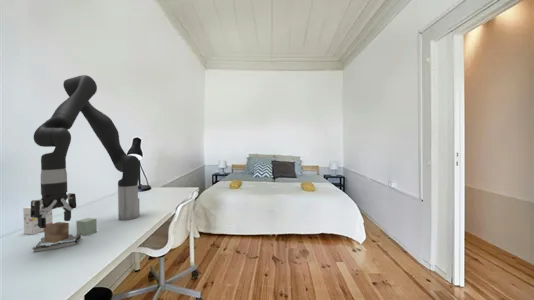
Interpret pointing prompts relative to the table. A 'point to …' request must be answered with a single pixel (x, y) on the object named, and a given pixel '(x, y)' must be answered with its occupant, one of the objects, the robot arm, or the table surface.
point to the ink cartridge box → (34, 221)
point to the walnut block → (56, 232)
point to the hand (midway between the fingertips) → (55, 224)
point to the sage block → (86, 226)
